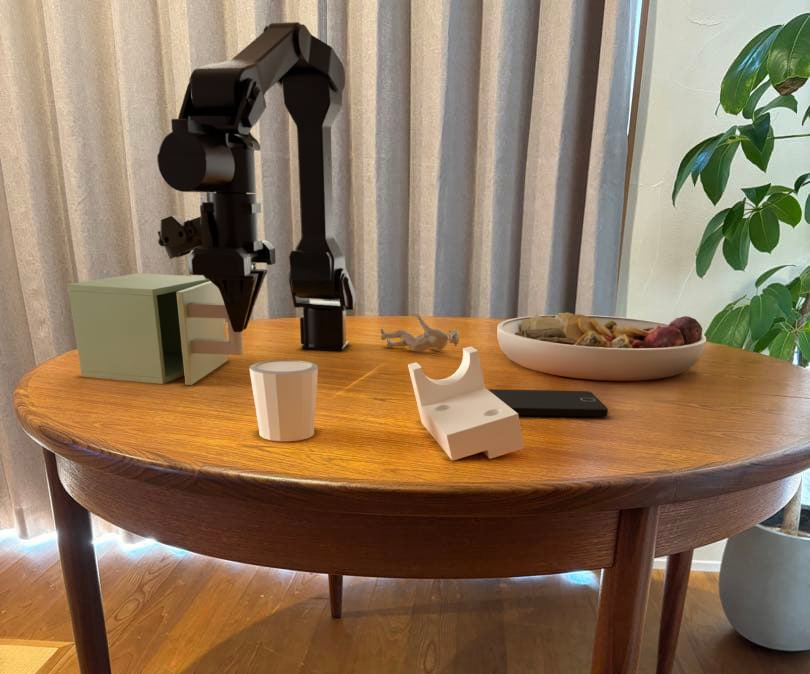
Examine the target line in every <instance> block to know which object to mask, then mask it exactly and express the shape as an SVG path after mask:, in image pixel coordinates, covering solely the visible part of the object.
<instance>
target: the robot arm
mask: <svg viewBox="0 0 810 674" xmlns="http://www.w3.org/2000/svg"><path fill="white" fill-rule="evenodd" d="M343 64H344V63H342V61H341V60H340V58H339V56H338V55H337V52H336V51H335V50H334V48H333V47H332V46H331V45H329V44H328V43H326V42H324V41H323V40H321V39H319V38H317V37H316V36H314V35H313V34H311V31H309V29H308V27H307V26H306V25H305V24H301V22H298V21H290V22H271V23H269V24H268V25H265V27H264V28H263V32H262V33H261V34H260V35H258V36H257V37H256V38H255V39H254V40H252V41H251V42H250V43H249V44H248V45H246V46H245V47H244V48H243V49H242V50H240V52H238V53H237V54H236V55H235V56H234V57H233V58H232V59H229V60H225V61H220V62H215V63H214V62H213V63H209V64H206V65H203V66H198V67H197V68H194V70H193V71H192V72H191V74H190V76H189V79H188V84H187V87H186V90H185V94H184V96H183V100H182V104H181V107H180V111H179V114H178V117H177V118H171V120H170V124H171V132H170V133H168V134H167V135H165V137H164V138H163V140H162V141H161V143H160V145H159V148H158V153H157V155H156V161H157V166H158V170H159V173H160V175H161V177H162V179H163V180H164V182H165V183H166V184H167V185H168V186H169V187H170V188H171V189H174V190H175V191H178V192H182V193H206V194H205V195H206V196H205V197H206V201H201V204H200V205H199V212H200V216H198V217H195V218H192V219H188V220H185V221H183V220H182V219H181V218H180V217H179V216H178V215H170V216H168V217H165V218H162V219H160V227H159V228H160V230H159V231H157V235H158V240H157V243H158V245H159V246H161V247H164V250H165V251H166V254H167V256H168V258H169V260H173V259H175V258H181V257H183V256H187V262H188V264H187V265H188V272H189V273H188V275H189V276H202V277H205V278H206V279H209V280H210V281H211V282H212V283H213V284H214V285H216V286H217V287H218V289H219V290H220V293H221V296H222V298H223V301H224V304H225V307H226V310H227V313H228V316H229V319H230V323H231V326H232V329H233V331H234V332H242V333H243V331H244V330H246V329H247V328H248V325H249V322H250V320H251V316H252V313H253V312H254V308H255V305H256V302H257V299H258V297H259V294H260V292H261V288H262V286H263V284H264V281H265V278H266V275H267V274H268V269H265V268H257V264H266V265H267V266H272V265H274V264H276V248H275V246H273V245H272V244H271V242H270V241H268V240H263V239H259V237H260V235H259V218H258V214H259V213H262V204H261V203H262V202H258V201H257V199H258V197H257V181H256V179H257V178H256V161H255V160H256V159H255V152H260V151H261V150H262V149H261V144H260V143H259V140H258V139H256V137H254V136H253V134H252V133H251V130H252V128H253V127H254V126H256V125H257V123H258V122H259V120H260V118H261V117H262V115H263V113H264V111H265V110H266V109H267V103H266V98H265V95H266V94H267V92H268V91H270V89H271V88H272V87H274V85H275V84H277V85H278V87H280V89H281V90H282V98H283V104H284V107H285V108H286V110H287V112H288V113H289V115H290V117H291V119H292V121H293V122H294V124H295V126H296V145H297V166H298V189H299V212H300V213H299V215H300V239H299V241H298V243H297V245H296V246H295V249H294V250H293V249H292V250H291V251H290V253H289V256H288V260H289V267H290V268H289V274H288V282H289V287H290V294H291V298H292V304H293V308H298V309H299V308H302V316H301V317H299V333H300V345H301V350H304V351H305V350H307V351H326V352H327V351H329V352H330V351H331V352H342V351H344V350H345V349H346V348H347V347H348V345H349V341H348V340H347V311H350V310H351V311H352V310H355V305H356V302H357V301H356V297H357V293H356V291H355V288H354V285H353V283H352V280H351V277H350V275H349V273H348V270H347V268H346V256H345V254H344V252H343V250H342V248H340V245H339V244H338V242H337V241H336V239H335V236H334V235H335V234H334V200H333V197H334V195H333V194H334V193H333V161H332V160H333V157H332V155H333V153H332V126H333V125H334V123H335V120H336V119H337V117H338V115H339V113H340V111H341V109H342V107H343V91H344V89H345V85H346V72H345V71H346V70H345V67H344V65H343Z"/></svg>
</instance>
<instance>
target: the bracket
mask: <svg viewBox="0 0 810 674" xmlns="http://www.w3.org/2000/svg"><path fill="white" fill-rule="evenodd" d="M407 367H408V371H409V375H410V380H411V383H412V387H413V394H414V396H415V400H416V405H417V409H418V414H419V417H420V422H421V424H422V425H423V426H424V428H425V429H426V430H427V432H428V433H429V434H430V435H431V436H432V437H433V439H434V440H435V441H436V443H437V444H438V445H439V447H441V449H442V450H443V451H444V452H445V454H446V455H447V456H448V457H449V459H450V460H451V461H456V460H460V459H463V458H467V457H469V456H472V455H476V454H479V453H483V454H484V455H485V456H486V457H487V458H488V459H490V460H491V459H494V458H497V457H501V456H503V455H508V454H510V453H513V452H517V451H521V450H523V449H525V445H524V438H523V433H522V429H521V428H522V427H521V423H520V417H519V416H520V415H518V413H517V412H515V411H514V410H513V409H512V408H510V407H509V406H508V405H507V404H505V403H504V402H503V401H501V400H500V399H499V398H498V397H496V396H495V395H494V394H493V393H491V392H490V391H489V390H488V389H489V388H486V385H485V384H486V383H485V380H484V375H483V370H482V364H481V358H480V353H479V350H478V349H477V348H475V347H473V346H472V345H470V346H466V347H463V348H462V360H461V363H460V365H459V367H458V368H457V370H456V371H455V372H454V373H452V375H449V376H447V377H446V378H442V379H434V378H430V377H428V376H426V375H425V372H424V370H423V367H422V366H421V365H420V364H419V363H418V362H417V361H415V362H413V363H408V364H407Z"/></svg>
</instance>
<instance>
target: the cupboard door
mask: <svg viewBox="0 0 810 674" xmlns="http://www.w3.org/2000/svg"><path fill="white" fill-rule="evenodd" d="M177 303H178V313H179V323H180V333H181V343H182V353H183V363H184V374H185V375H184V383H185V386H193V385H194V384H196V383H198V382H199V381H200V380H201V379H203V378H204V377H206V376H207V375H209V374H211V372H213V371H215V370H217V368H219V367H221V366H222V365H224V364H225V363H226V362H228V361H229V356H241V355H244V347H243V331H242V332H234V331H233V329H232V326H231V323H230V319H229V316H228V313H227V310H226V307H225V304H224V301H223V298H222V296H221V293H220V290H219V289H218V287H217V286H216V285H214V284H213V283H212V282H211V281H208V282H205V283H202V284H199V285H196V286H193V287H190V288H187V289H184V290H181V291H178V292H177ZM226 319H227V329H226ZM227 331H228V339H227Z"/></svg>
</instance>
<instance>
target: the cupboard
mask: <svg viewBox="0 0 810 674" xmlns="http://www.w3.org/2000/svg"><path fill="white" fill-rule="evenodd" d="M208 281H210V280H209V279H206V278H205V277H204V276H200V275H179V274H163V273H162V274H161V273H142V272H138V273H137V272H136V273H130V274H125V275H124V274H123V275H118V276H111V277H105V278H100V279H99V278H98V279H93V280H86V281H80V282H74V283H67V290H68V296H69V303H70V311H71V315H72V316H71V317H72V322H73V323H72V324H73V328H74V336H75V340H76V349H77V355H78V361H79V368H80V374H81V377H86V378H96V379H97V378H98V379H107V380H117V381H118V380H119V381H128V382H137V383H138V382H139V383H149V384H161V385H164V384H167V383H170V382H172V381H174V380H176V379H179V378H181V377H185V374H184V363H183V353H182V343H181V333H180V323H179V313H178V303H177V292H178V291H181V290H184V289H187V288H190V287H193V286H196V285H199V284H202V283H205V282H208Z"/></svg>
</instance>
